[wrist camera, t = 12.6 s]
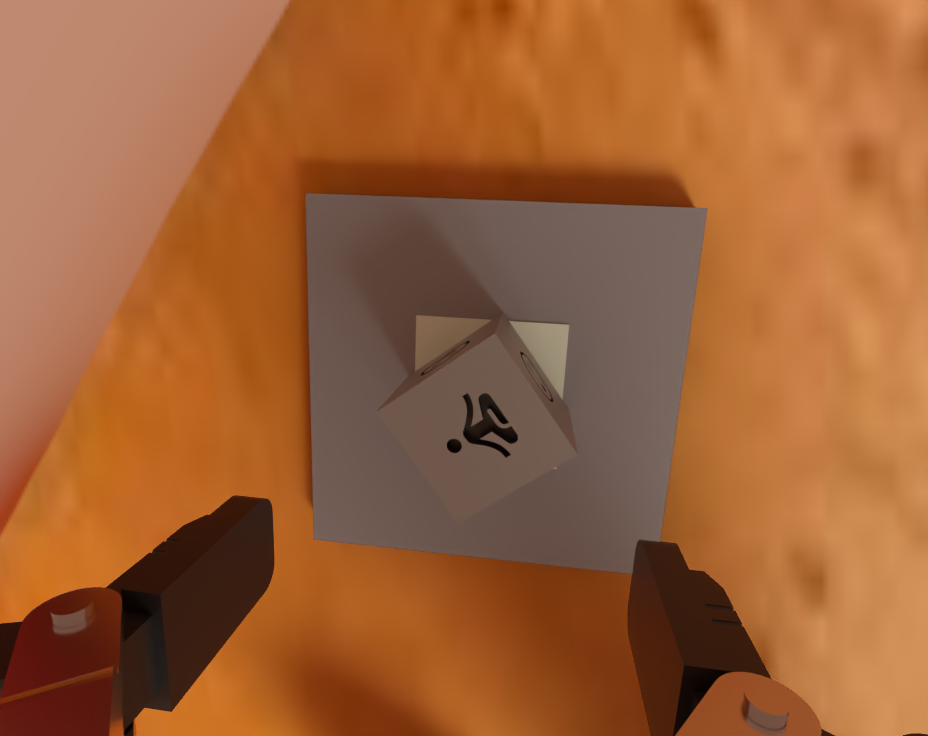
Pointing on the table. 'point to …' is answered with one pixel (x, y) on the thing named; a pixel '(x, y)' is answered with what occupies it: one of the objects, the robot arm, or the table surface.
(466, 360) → the dice cube
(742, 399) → the table surface
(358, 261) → the plate
